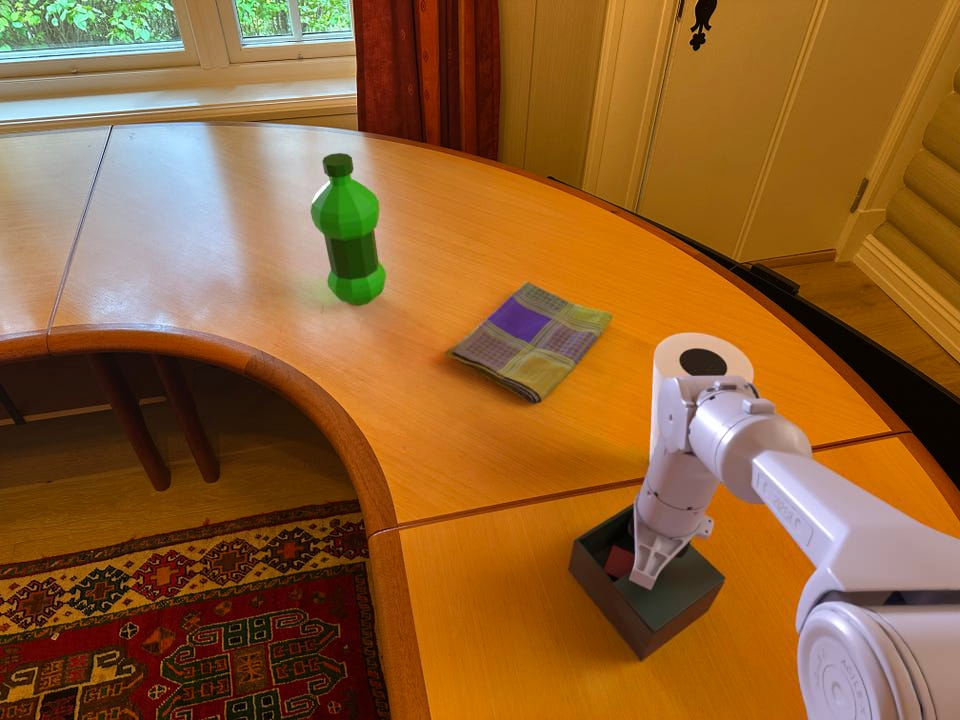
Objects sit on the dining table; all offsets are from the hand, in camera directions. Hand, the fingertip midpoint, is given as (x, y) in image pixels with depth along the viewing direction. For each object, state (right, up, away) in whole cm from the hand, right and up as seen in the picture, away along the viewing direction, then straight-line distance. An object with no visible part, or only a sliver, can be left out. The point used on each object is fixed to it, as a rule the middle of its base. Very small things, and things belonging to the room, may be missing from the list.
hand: (648, 558), depth 62 cm
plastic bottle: (-38, +31, +44) cm, 66 cm away
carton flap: (+2, -2, -2) cm, 3 cm away
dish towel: (-9, +23, +35) cm, 43 cm away
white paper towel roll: (+7, +7, +17) cm, 20 cm away
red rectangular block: (0, -5, +4) cm, 6 cm away
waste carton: (0, -5, +5) cm, 7 cm away
